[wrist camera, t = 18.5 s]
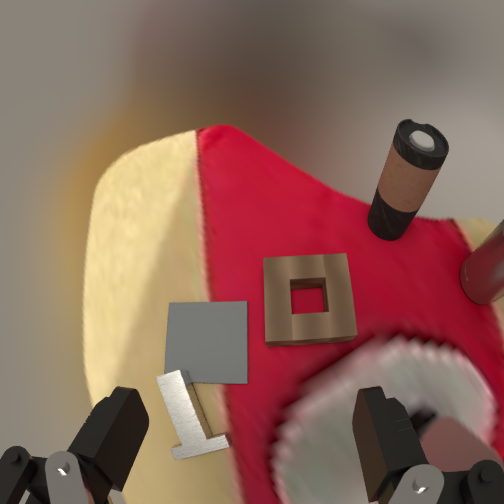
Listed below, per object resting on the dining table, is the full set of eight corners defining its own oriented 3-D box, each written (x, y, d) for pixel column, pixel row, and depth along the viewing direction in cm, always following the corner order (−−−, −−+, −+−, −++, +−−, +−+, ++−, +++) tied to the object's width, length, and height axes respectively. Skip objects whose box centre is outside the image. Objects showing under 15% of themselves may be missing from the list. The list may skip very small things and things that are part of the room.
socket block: (341, 265, 44) (346, 253, 41) (350, 340, 39) (357, 335, 35) (264, 269, 45) (263, 257, 42) (266, 346, 40) (265, 341, 36)
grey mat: (247, 302, 43) (247, 301, 42) (247, 383, 38) (247, 383, 37) (171, 304, 44) (169, 302, 43) (166, 380, 38) (164, 380, 38)
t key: (194, 364, 35) (228, 448, 31) (201, 365, 38) (232, 442, 34) (141, 381, 34) (172, 461, 30) (151, 380, 38) (180, 455, 33)
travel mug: (386, 249, 45) (431, 165, 27) (357, 217, 48) (384, 126, 31) (413, 228, 46) (459, 146, 29) (385, 199, 50) (417, 113, 32)
